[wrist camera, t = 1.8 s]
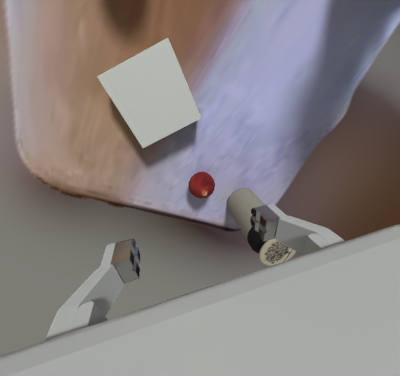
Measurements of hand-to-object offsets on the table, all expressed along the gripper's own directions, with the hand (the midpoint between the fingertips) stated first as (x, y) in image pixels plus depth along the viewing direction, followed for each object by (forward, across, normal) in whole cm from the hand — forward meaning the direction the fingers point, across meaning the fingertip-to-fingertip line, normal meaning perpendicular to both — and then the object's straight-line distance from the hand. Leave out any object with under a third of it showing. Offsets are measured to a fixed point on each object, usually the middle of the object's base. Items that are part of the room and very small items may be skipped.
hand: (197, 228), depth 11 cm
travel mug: (+26, -17, +19) cm, 36 cm away
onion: (+27, -6, +10) cm, 30 cm away
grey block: (+28, 0, -7) cm, 29 cm away
